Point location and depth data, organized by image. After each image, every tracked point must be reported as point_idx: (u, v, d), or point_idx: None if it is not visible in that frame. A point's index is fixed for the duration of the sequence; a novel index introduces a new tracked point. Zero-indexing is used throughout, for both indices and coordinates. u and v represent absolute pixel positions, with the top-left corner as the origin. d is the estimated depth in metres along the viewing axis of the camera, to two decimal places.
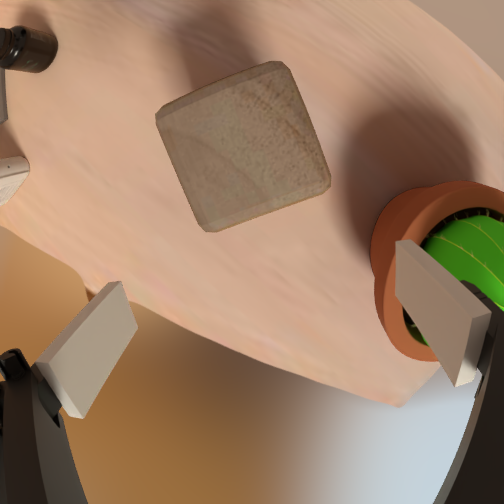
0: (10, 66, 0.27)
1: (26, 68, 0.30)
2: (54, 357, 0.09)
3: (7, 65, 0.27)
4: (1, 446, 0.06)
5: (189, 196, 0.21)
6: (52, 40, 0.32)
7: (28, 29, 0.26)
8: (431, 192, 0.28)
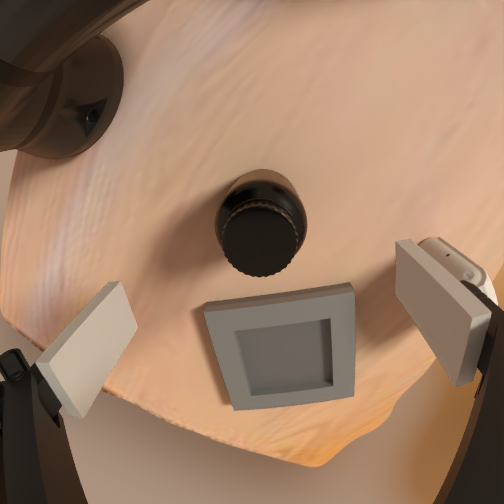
0: None
1: None
2: (54, 357, 0.09)
3: (305, 227, 0.22)
4: (1, 446, 0.06)
5: None
6: (250, 172, 0.28)
7: (234, 186, 0.23)
8: None
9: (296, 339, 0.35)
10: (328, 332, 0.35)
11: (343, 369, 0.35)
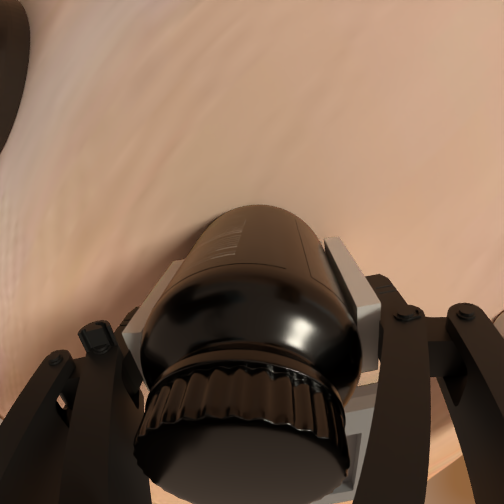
0: (361, 359, 0.09)
1: None
2: None
3: (358, 379, 0.08)
4: (61, 433, 0.07)
5: None
6: (233, 213, 0.14)
7: (180, 277, 0.09)
8: None
9: None
10: (354, 440, 0.20)
11: None
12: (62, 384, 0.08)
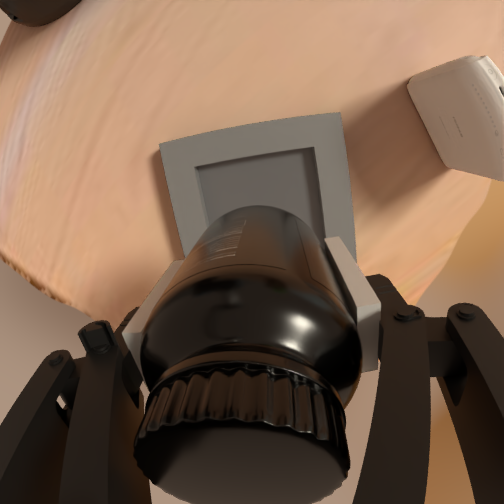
0: (362, 360, 0.09)
1: None
2: None
3: (358, 380, 0.08)
4: (62, 433, 0.07)
5: None
6: (234, 214, 0.14)
7: (180, 278, 0.09)
8: None
9: (274, 185, 0.28)
10: (314, 176, 0.28)
11: (339, 231, 0.28)
12: (62, 384, 0.08)
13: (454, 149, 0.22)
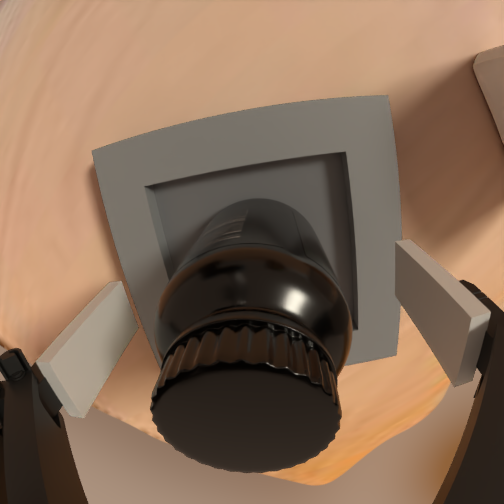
0: (351, 331, 0.10)
1: None
2: (55, 357, 0.09)
3: (349, 349, 0.10)
4: (1, 446, 0.06)
5: None
6: (236, 205, 0.15)
7: (191, 257, 0.10)
8: None
9: None
10: (343, 200, 0.17)
11: (378, 288, 0.17)
12: None
13: None
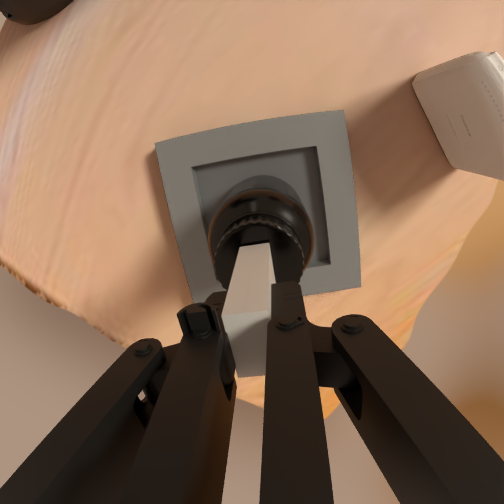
0: None
1: None
2: (245, 308, 0.10)
3: (312, 244, 0.19)
4: (135, 434, 0.07)
5: None
6: (250, 178, 0.25)
7: (230, 196, 0.20)
8: None
9: None
10: (317, 176, 0.26)
11: (342, 234, 0.27)
12: (146, 380, 0.08)
13: (462, 148, 0.21)
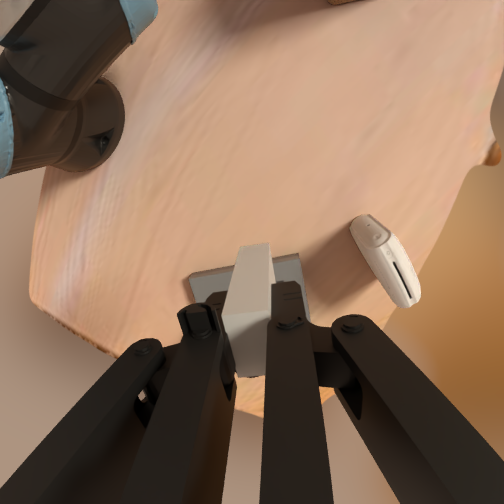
0: None
1: None
2: (245, 308, 0.10)
3: None
4: (135, 434, 0.07)
5: None
6: None
7: None
8: None
9: None
10: None
11: None
12: (146, 380, 0.08)
13: None
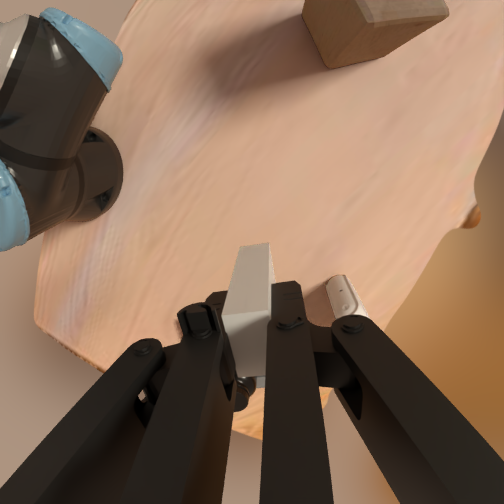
0: (256, 383, 0.45)
1: None
2: (245, 308, 0.10)
3: (254, 387, 0.44)
4: (135, 434, 0.07)
5: (428, 14, 0.18)
6: None
7: None
8: None
9: None
10: None
11: None
12: (146, 380, 0.08)
13: None
